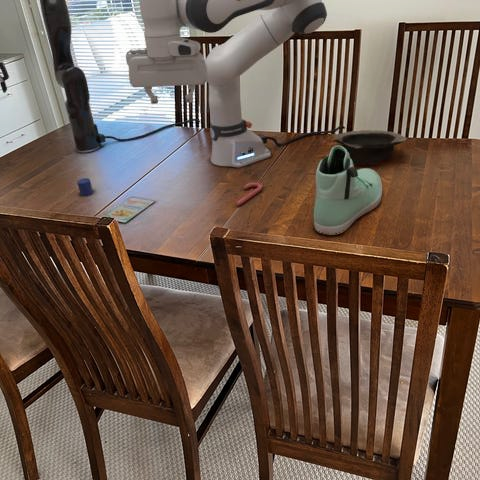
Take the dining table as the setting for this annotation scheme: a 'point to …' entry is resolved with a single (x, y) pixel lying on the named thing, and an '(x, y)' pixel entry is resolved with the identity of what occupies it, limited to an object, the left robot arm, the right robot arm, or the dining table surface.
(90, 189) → the can
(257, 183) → the candy cane
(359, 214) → the sneaker
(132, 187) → the dining table surface
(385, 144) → the stone bowl
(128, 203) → the baking ingredient package
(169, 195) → the dining table surface
